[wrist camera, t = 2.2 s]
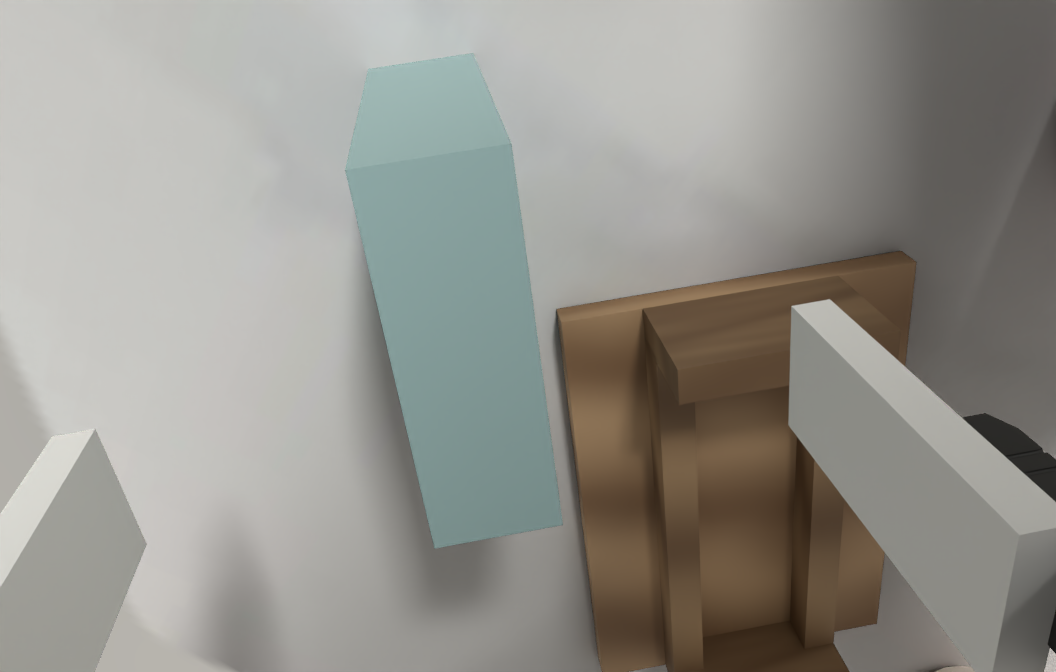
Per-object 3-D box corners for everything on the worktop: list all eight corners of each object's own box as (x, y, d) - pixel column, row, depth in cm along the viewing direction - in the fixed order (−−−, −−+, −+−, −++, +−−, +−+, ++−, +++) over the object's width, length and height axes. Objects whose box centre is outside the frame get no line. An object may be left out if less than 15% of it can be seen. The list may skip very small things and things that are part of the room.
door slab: (368, 68, 24) (345, 169, 15) (473, 52, 24) (511, 143, 15) (426, 343, 28) (434, 548, 19) (514, 328, 28) (562, 524, 19)
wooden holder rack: (556, 309, 28) (584, 386, 23) (900, 250, 28) (990, 314, 24) (598, 657, 36) (624, 763, 31) (865, 605, 36) (928, 702, 32)
